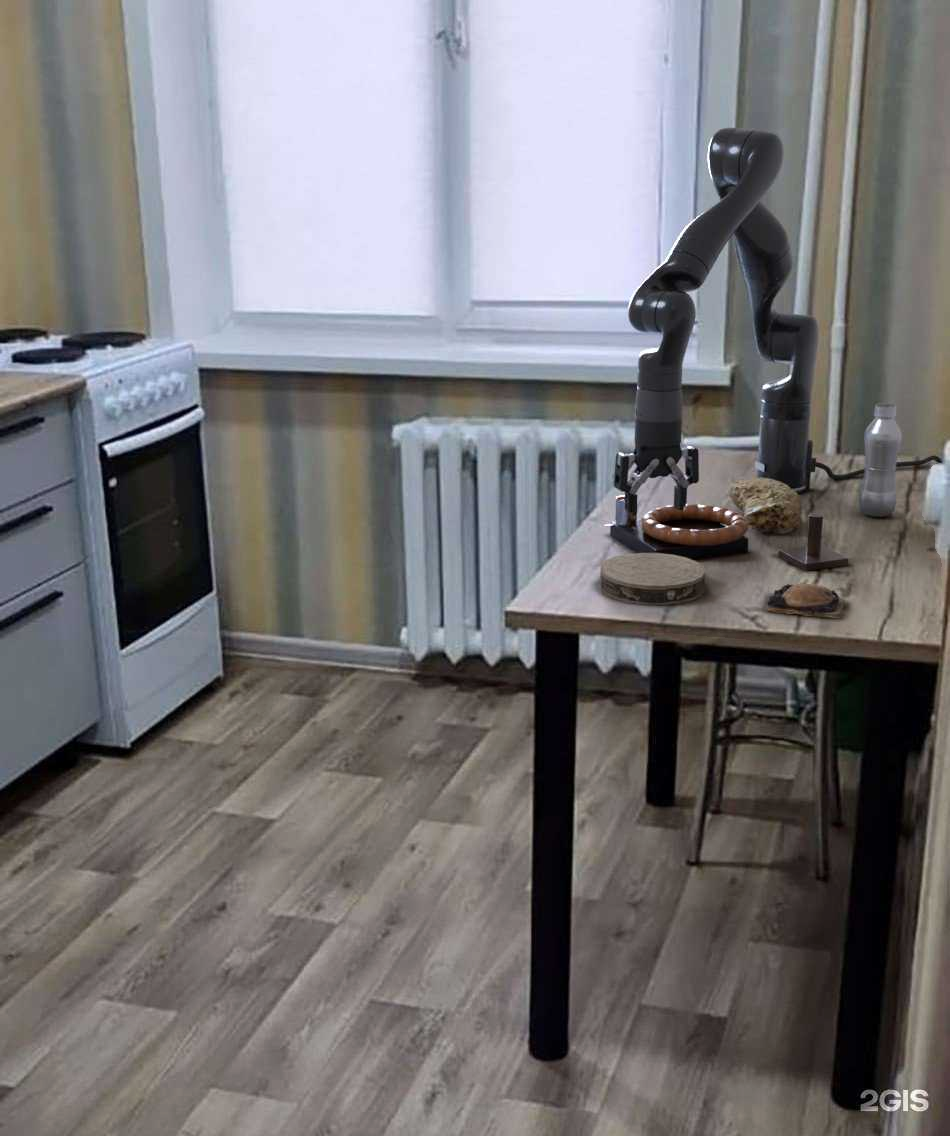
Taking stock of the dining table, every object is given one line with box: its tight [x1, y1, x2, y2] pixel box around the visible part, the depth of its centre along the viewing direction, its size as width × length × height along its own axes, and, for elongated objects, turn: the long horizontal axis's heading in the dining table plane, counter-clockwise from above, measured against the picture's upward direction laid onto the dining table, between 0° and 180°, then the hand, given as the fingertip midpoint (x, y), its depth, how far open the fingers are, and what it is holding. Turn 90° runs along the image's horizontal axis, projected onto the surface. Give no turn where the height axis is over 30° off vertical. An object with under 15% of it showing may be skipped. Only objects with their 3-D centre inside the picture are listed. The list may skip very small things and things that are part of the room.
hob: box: [604, 517, 749, 561], centre depth 230 cm, size 19×19×3 cm
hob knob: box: [614, 494, 638, 526], centre depth 232 cm, size 4×4×5 cm
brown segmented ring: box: [641, 504, 749, 546], centre depth 227 cm, size 17×17×3 cm
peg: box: [777, 512, 850, 572], centre depth 219 cm, size 8×8×8 cm
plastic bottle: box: [858, 402, 903, 517], centre depth 241 cm, size 6×7×20 cm
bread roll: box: [765, 582, 846, 619], centre depth 200 cm, size 11×8×4 cm
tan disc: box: [599, 552, 706, 606], centre depth 209 cm, size 16×16×3 cm
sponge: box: [729, 477, 804, 535], centre depth 242 cm, size 13×8×20 cm
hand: (655, 511), depth 224 cm, fingers open, 8 cm apart
